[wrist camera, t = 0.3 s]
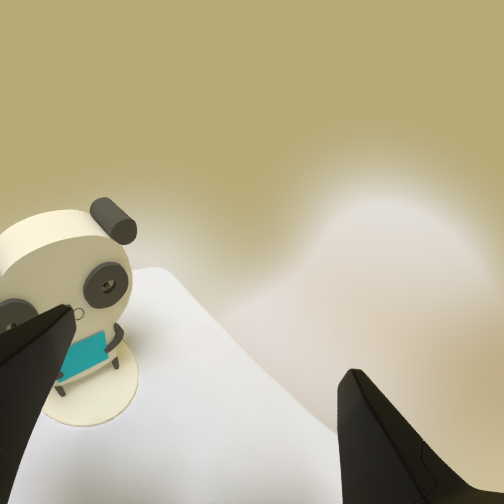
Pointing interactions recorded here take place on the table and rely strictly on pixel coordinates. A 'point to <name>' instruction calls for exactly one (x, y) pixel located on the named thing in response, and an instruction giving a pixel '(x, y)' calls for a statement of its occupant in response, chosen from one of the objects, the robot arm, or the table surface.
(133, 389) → the panda figurine
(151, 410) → the table surface
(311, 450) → the table surface
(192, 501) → the table surface
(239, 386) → the table surface
